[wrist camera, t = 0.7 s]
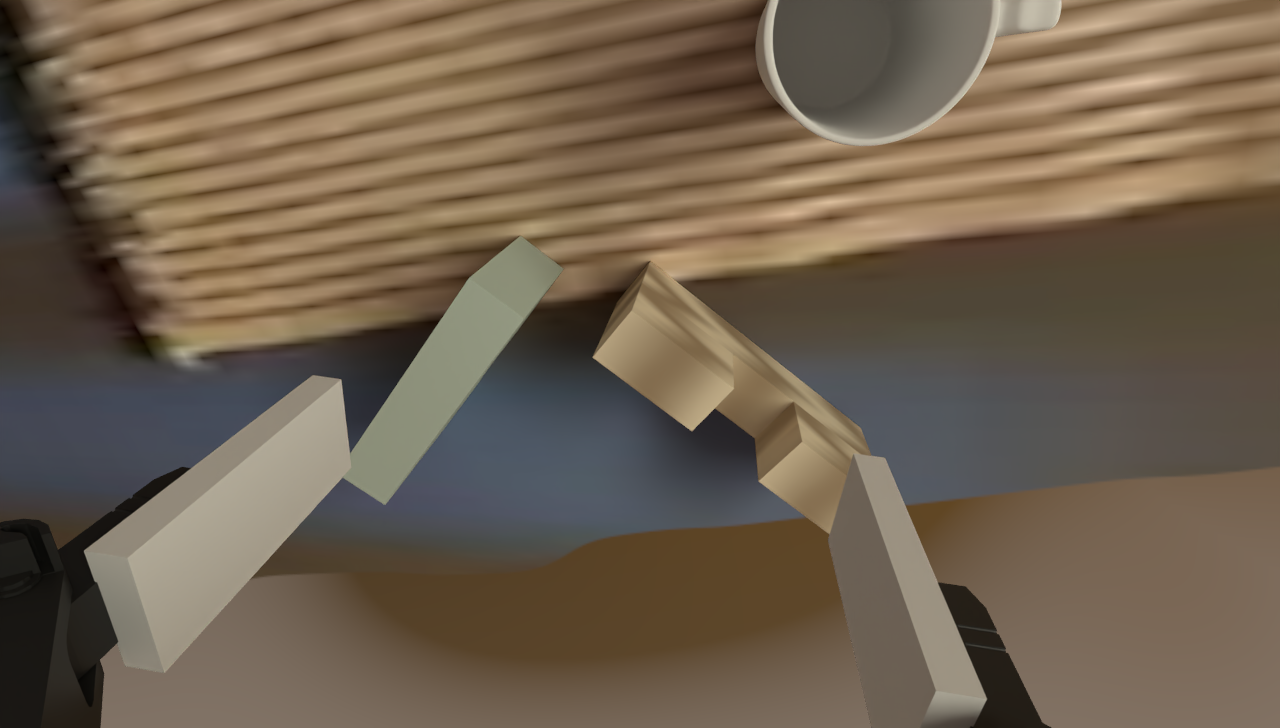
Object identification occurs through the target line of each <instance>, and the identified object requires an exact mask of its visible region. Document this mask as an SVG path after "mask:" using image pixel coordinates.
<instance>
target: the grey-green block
mask: <svg viewBox="0 0 1280 728" xmlns="http://www.w3.org/2000/svg"><path fill="white" fill-rule="evenodd" d="M563 270H564V269H563V268H562V267H561V266H559V265H558V264H557V263H555V262H554V261H553V260H551V259H550V258H549V257H548V256H546V255H545V254H544V253H542V252H541V251H540V250H538V249H537V248H536V247H535V246H533V245H532V244H531V243H529V242H528V241H527V240H525V239H524V238H523V237H522V236H519V237H518V238H517V239H516V240H515V241H513V242H512V243H511V244H510V245H509V246H507V247H506V248H505V249H504V250H502V251H501V252H500V253H499V254H498V255H496V256H495V257H494V258H493V259H491V260H490V261H489V262H488V263H487V264H485V265H484V266H483V267H482V268H480V269H479V270H478V271H477V272H476V273H474V274H473V275H472V276H471V277H470V278H469V279H468V280H467V282H466V283H465V285H464V286H463V288H462V289H461V291H460V292H459V294H458V295H457V297H456V298H455V299H454V301H453V302H452V304H451V305H450V307H449V308H448V310H447V311H446V313H445V314H444V316H443V317H442V319H441V320H440V322H439V323H438V325H437V326H436V328H435V329H434V331H433V332H432V334H431V335H430V336H429V338H428V339H427V341H426V342H425V344H424V345H423V347H422V348H421V350H420V351H419V353H418V354H417V356H416V357H415V359H414V360H413V362H412V363H411V365H410V366H409V368H408V369H407V370H406V372H405V373H404V375H403V376H402V378H401V379H400V381H399V382H398V384H397V385H396V387H395V388H394V390H393V391H392V393H391V394H390V396H389V397H388V399H387V400H386V402H385V403H384V405H383V406H382V407H381V409H380V410H379V412H378V413H377V415H376V416H375V418H374V419H373V421H372V422H371V424H370V425H369V427H368V428H367V430H366V431H365V433H364V434H363V436H362V437H361V439H360V440H359V442H358V443H357V444H356V446H355V447H354V449H353V450H352V452H351V453H350V460H351V469H350V470H349V471H348V472H347V473H346V474H345V475H344V476H343V478H344V479H346V480H347V481H349V482H350V483H352V484H353V485H355V486H357V487H358V488H360V489H361V490H363V491H364V492H366V493H367V494H369V495H370V496H372V497H373V498H375V499H377V500H378V501H380V502H381V503H383V504H384V505H386V503H387V502H388V501H389V499H390V498H391V497H392V495H393V494H394V493H395V492H396V490H397V489H398V488H399V486H400V485H401V484H402V483H403V481H404V480H405V479H406V477H407V476H408V475H409V474H410V472H411V471H412V470H413V468H414V467H415V466H416V465H417V463H418V462H419V461H420V459H421V458H422V457H423V455H424V454H425V453H426V452H427V450H428V449H429V448H430V446H431V445H432V444H433V443H434V441H435V440H436V439H437V437H438V436H439V435H440V434H441V432H442V431H443V430H444V428H445V427H446V426H447V424H448V423H449V422H450V420H451V419H452V418H453V416H454V415H455V414H456V412H457V411H458V410H459V408H460V407H461V406H462V404H463V403H464V402H465V400H466V399H467V398H468V396H469V395H470V394H471V392H472V391H473V390H474V388H475V387H476V386H477V384H478V383H479V382H480V380H481V379H482V376H483V375H484V374H485V372H486V371H487V370H488V368H489V367H490V366H491V364H492V363H493V362H494V360H495V359H496V358H497V356H498V355H499V354H500V353H501V351H502V350H503V349H504V347H505V346H506V345H507V344H508V342H509V341H510V340H511V339H512V337H513V336H514V335H515V333H516V332H517V331H518V330H519V328H520V327H521V326H522V324H523V323H524V322H525V320H526V319H527V318H528V316H529V315H530V314H531V312H532V311H533V310H534V308H535V307H536V306H537V304H538V303H539V302H540V300H541V299H542V298H543V296H544V295H545V294H546V292H547V291H548V290H549V288H550V287H551V286H552V284H553V283H554V282H555V280H556V279H557V278H558V276H559V275H560V274H561V272H562V271H563Z"/></svg>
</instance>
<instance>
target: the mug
mask: <svg viewBox="0 0 1280 728" xmlns="http://www.w3.org/2000/svg"><path fill="white" fill-rule="evenodd" d="M1060 12H1061V0H768V1H767V4H766V6H765V8H764V10H763V13H762V16H761V18H760V22H759V25H758V30H757V35H756V45H755V54H756V62H757V67H758V71H759V74H760V77H761V79H762V81H763V83H764V85H765V87H766V89H767V90H768V92H769V93H770V94H771V96H772V97H773V98H774V99H775V100H776V101H777V102H778V103H779V104H780V105H781V106H782V107H783V108H784V109H785V110H786V111H787V112H788V114H790V115H791V116H792V117H793V118H794V119H795V120H797V121H798V122H799V123H800V124H801V125H803V126H804V127H805V128H807V129H808V130H810V131H811V132H813V133H815V134H816V135H818V136H820V137H822V138H825V139H827V140H830V141H833V142H836V143H840V144H845V145H853V146H873V145H881V144H886V143H891V142H894V141H898V140H901V139H904V138H906V137H909V136H911V135H913V134H915V133H917V132H919V131H921V130H923V129H925V128H926V127H928V126H930V125H931V124H933V123H934V122H936V121H937V120H938V119H940V118H941V117H942V116H943V115H945V114H946V113H947V112H948V111H949V110H950V109H951V108H952V107H953V106H955V105H956V103H957V102H958V101H959V100H960V99H961V98H962V97H963V96H964V95H965V93H966V92H967V91H968V90H969V88H970V87H971V85H972V84H973V83H974V81H975V80H976V78H977V76H978V75H979V73H980V71H981V70H982V68H983V66H984V64H985V62H986V60H987V58H988V55H989V53H990V50H991V48H992V45H993V42H994V39H995V37H1000V36H1007V35H1014V34H1022V33H1029V32H1037V31H1044V30H1049V29H1051V28H1053V27H1054V26H1055V25H1056V24H1057V22H1058V20H1059V17H1060Z"/></svg>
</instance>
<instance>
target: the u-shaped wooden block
mask: <svg viewBox="0 0 1280 728" xmlns="http://www.w3.org/2000/svg"><path fill="white" fill-rule="evenodd" d="M593 358H594V359H595V360H597V361H598V362H599V363H601V364H602V365H603V366H605V367H606V368H607V369H609V370H610V371H611V372H613V373H614V374H615V375H617V376H618V377H619V378H621V379H622V380H623V381H625V382H626V383H627V384H629V385H630V386H631V387H633V388H634V389H636V390H637V391H638V392H640V393H641V394H642V395H644V396H645V397H646V398H648V399H649V400H650V401H652V402H653V403H654V404H656V405H657V406H658V407H660V408H661V409H662V410H664V411H665V412H666V413H668V414H669V415H670V416H672V417H673V418H674V419H676V420H677V421H678V422H680V423H681V424H682V425H684V426H685V427H686V428H688V429H689V430H690V431H693V430H694V429H695V428H696V427H697V426H698V425H699V424H700V423H701V422H702V421H703V420H704V419H705V418H706V417H707V416H708V415H709V414H710V413H711V412H712V411H713V410H714V409H717V410H718V411H719V412H721V413H722V414H723V415H725V416H726V417H727V418H729V419H730V420H731V421H733V422H734V423H735V424H736V425H738V426H739V427H740V428H742V429H743V430H744V431H746V432H747V433H748V434H750V435H751V436H752V437H754V438H755V447H756V458H757V469H758V480H759V482H760V483H762V484H763V485H764V486H766V487H767V488H768V489H770V490H771V491H772V492H774V493H775V494H776V495H778V496H779V497H780V498H782V499H783V500H784V501H786V502H787V503H788V504H790V505H791V506H792V507H794V508H795V509H796V510H798V511H799V512H800V513H802V514H803V515H804V516H806V517H807V518H808V519H810V520H811V521H812V522H814V523H815V524H816V525H818V526H819V527H821V528H822V529H823V530H825V531H826V532H827V533H829V534H830V532H831V528H832V525H833V522H834V518H835V515H836V511H837V508H838V505H839V501H840V498H841V494H842V491H843V487H844V484H845V481H846V477H847V474H848V470H849V467H850V464H851V460H852V457H853V453H854V454H861V455H868V456H871V454H870V451H869V448H868V446H867V443H866V441H865V438H864V435H863V433H862V430H861V428H860V427H859V426H858V425H856V424H855V423H854V422H852V421H851V420H850V419H849V418H847V417H846V416H845V415H844V414H842V413H841V412H840V411H839V410H837V409H836V408H835V407H834V406H832V405H831V404H830V403H829V402H827V401H826V400H825V399H823V398H822V397H821V396H820V395H818V394H817V393H816V392H815V391H813V390H812V389H811V388H810V387H808V386H807V385H806V384H805V383H803V382H802V381H801V380H800V379H798V378H797V377H796V376H795V375H793V374H792V373H791V372H789V371H788V370H787V369H786V368H784V367H783V366H782V365H781V364H779V363H778V362H777V361H776V360H774V359H773V358H772V357H771V356H769V355H768V354H767V353H766V352H764V351H763V350H762V349H761V348H759V347H758V346H757V345H755V344H754V343H753V342H752V341H750V340H749V339H748V338H747V337H745V336H744V335H743V334H742V333H740V332H739V331H738V330H737V329H735V328H734V327H733V326H732V325H730V324H729V323H728V322H727V321H725V320H724V319H723V318H721V317H720V316H719V315H718V314H716V313H715V312H714V311H713V310H711V309H710V308H709V307H708V306H706V305H705V304H704V303H703V302H701V301H700V300H699V299H698V298H696V297H695V296H694V295H693V294H691V293H690V292H689V291H687V290H686V289H685V288H684V287H682V286H681V285H680V284H679V283H677V282H676V281H675V280H674V279H672V278H671V277H670V276H669V275H667V274H666V273H665V272H664V271H662V270H661V269H660V268H659V267H657V266H656V265H655V264H653V263H652V262H651V261H650V262H649V263H648V265H647V266H646V267H645V268H644V269H643V271H642V272H641V273H640V274H639V276H638V277H637V278H636V279H635V280H634V282H633V283H632V284H631V285H630V287H629V288H628V289H627V290H626V291H625V293H624V294H623V295H622V296H621V298H620V299H619V300H618V302H617V304H616V306H615V309H614V311H613V313H612V315H611V317H610V320H609V322H608V324H607V326H606V329H605V331H604V333H603V335H602V337H601V340H600V342H599V344H598V346H597V348H596V351H595V353H594V355H593Z"/></svg>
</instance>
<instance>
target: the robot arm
mask: <svg viewBox="0 0 1280 728" xmlns="http://www.w3.org/2000/svg"><path fill="white" fill-rule="evenodd" d="M350 469H351V460H350V451H349V442H348V434H347V425H346V416H345V408H344V399H343V390H342V381H341V379H335V378H329V377H322V376H315V375H312V376H311V377H310V378H308V379H307V380H306V381H305V382H303V383H302V384H301V385H299V386H298V387H297V388H295V389H294V390H293V391H292V392H290V393H289V394H288V395H286V396H285V397H284V398H282V399H281V400H280V401H278V402H277V403H276V404H275V405H273V406H272V407H271V408H269V409H268V410H267V411H265V412H264V413H263V414H262V415H260V416H259V417H258V418H256V419H255V420H254V421H252V422H251V423H250V424H248V425H247V426H246V427H245V428H243V429H242V430H241V431H239V432H238V433H237V434H235V435H234V436H233V437H232V438H230V439H229V440H228V441H226V442H225V443H224V444H222V445H221V446H220V447H218V448H217V449H216V450H215V451H213V452H212V453H211V454H209V455H208V456H207V457H205V458H204V459H203V460H202V461H200V462H199V463H198V464H196V465H195V466H194V467H192V468H185V467H181V468H179V469H176V470H174V471H172V472H170V473H167V474H165V475H163V476H161V477H159V478H156V479H154V480H153V481H151V482H150V483H149V484H147V485H146V486H145V487H143V488H142V489H141V490H139V491H138V492H136V493H135V494H134V495H133V497H132V499H130V498H128V499H127V500H126V501H124V502H123V503H122V504H120V505H119V506H117V507H116V508H115V511H114V512H112V511H111V512H109V513H108V514H107V515H105V516H104V517H103V518H101V519H100V520H98V521H97V522H96V523H94V524H93V525H92V526H90V527H89V528H88V529H86V530H85V531H83V532H82V533H81V534H79V535H78V536H77V537H75V538H74V539H73V540H71V541H70V542H69V543H67V544H66V545H64V546H63V547H62V548H60V549H59V550H58V549H57V547H56V544H55V542H54V539H53V536H52V534H51V531H50V528H49V526H48V525H47V524H45V523H43V522H41V521H39V520H31V519H19V520H12V521H4V522H1V523H0V728H100V725H101V711H102V695H103V681H104V672H103V668H102V665H101V662H100V659H101V658H102V657H103V656H104V655H105V654H106V653H107V652H108V651H109V650H110V649H111V648H112V647H114V646H115V644H117V645H118V648H119V651H120V653H121V656H122V659H123V662H124V665H125V666H127V667H133V668H139V669H145V670H150V671H156V672H162V673H165V672H166V671H167V670H168V669H169V667H170V666H171V665H172V664H173V663H174V662H175V661H176V660H177V659H178V658H179V656H180V655H181V654H182V653H183V652H184V651H185V650H186V649H187V647H189V645H190V644H191V643H192V642H193V641H194V640H195V639H196V638H197V637H198V636H199V635H200V633H201V632H202V631H203V630H204V629H205V628H206V627H207V626H208V625H209V623H210V622H211V621H212V620H213V619H214V618H215V617H216V616H217V615H218V614H219V613H220V611H221V610H222V609H223V608H224V607H225V606H226V605H227V604H228V603H229V602H230V600H231V599H232V598H233V597H234V596H235V595H236V594H237V593H238V592H239V590H240V589H241V588H242V587H243V586H244V585H245V584H246V583H247V582H248V581H249V580H250V578H251V577H252V576H253V575H254V574H255V573H256V572H257V571H258V570H259V569H260V567H261V566H262V565H263V564H264V563H265V562H266V561H267V560H268V559H269V558H270V556H271V555H272V554H273V553H274V552H275V551H276V550H277V549H278V548H279V547H280V545H281V544H282V543H283V542H284V541H285V540H286V539H287V538H288V537H289V536H290V534H291V533H292V532H293V531H294V530H295V529H296V528H297V527H298V526H299V525H300V523H301V522H302V521H303V520H304V519H305V518H306V517H307V516H308V515H309V514H310V512H311V511H312V510H313V509H314V508H315V507H316V506H317V505H318V504H319V503H320V502H321V500H322V499H323V498H324V497H325V496H326V495H327V494H328V493H329V492H330V491H331V489H332V488H333V487H334V486H335V485H336V484H337V483H338V482H339V481H340V480H341V478H342V477H343V476H344V475H345V474H346V473H347V472H348V471H349V470H350ZM828 542H829V546H830V551H831V555H832V559H833V563H834V568H835V572H836V577H837V581H838V585H839V590H840V594H841V598H842V603H843V607H844V611H845V616H846V620H847V624H848V628H849V633H850V637H851V642H852V646H853V650H854V655H855V659H856V663H857V668H858V672H859V676H860V681H861V685H862V689H863V693H864V698H865V702H866V707H867V710H868V715H869V720H870V723H871V728H1051V727H1049V726H1047V725H1045V724H1044V723H1042V722H1041V719H1040V717H1039V715H1038V713H1037V711H1036V709H1035V707H1034V705H1033V703H1032V701H1031V699H1030V697H1029V695H1028V693H1027V691H1026V689H1025V687H1024V684H1023V683H1022V681H1021V678H1020V676H1019V674H1018V672H1017V670H1016V668H1015V666H1014V664H1013V662H1012V660H1011V658H1010V656H1009V654H1008V653H1006V651H1005V649H1006V648H1005V646H1004V644H1003V642H1002V640H1001V638H1000V636H999V635H998V634H997V633H996V631H997V630H996V628H995V626H994V624H993V622H992V620H991V618H990V615H989V614H988V611H987V609H986V608H985V607H984V605H983V604H982V603H981V602H980V601H979V600H978V599H977V598H976V597H975V596H974V595H973V594H972V593H971V592H970V591H969V590H968V589H967V588H966V587H965V586H958V585H951V584H944V583H938V582H937V580H936V578H935V575H934V573H933V570H932V568H931V566H930V563H929V561H928V559H927V556H926V554H925V552H924V549H923V547H922V545H921V542H920V540H919V537H918V535H917V533H916V530H915V528H914V526H913V523H912V521H911V519H910V516H909V514H908V511H907V509H906V507H905V504H904V502H903V500H902V497H901V495H900V492H899V490H898V488H897V485H896V483H895V481H894V478H893V476H892V474H891V471H890V469H889V466H888V464H887V462H886V459H885V458H882V457H875V456H868V455H861V454H854V453H853V457H852V460H851V464H850V467H849V470H848V474H847V477H846V481H845V484H844V487H843V491H842V494H841V498H840V501H839V505H838V508H837V511H836V515H835V518H834V522H833V525H832V528H831V532H830V535H829V539H828Z"/></svg>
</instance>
